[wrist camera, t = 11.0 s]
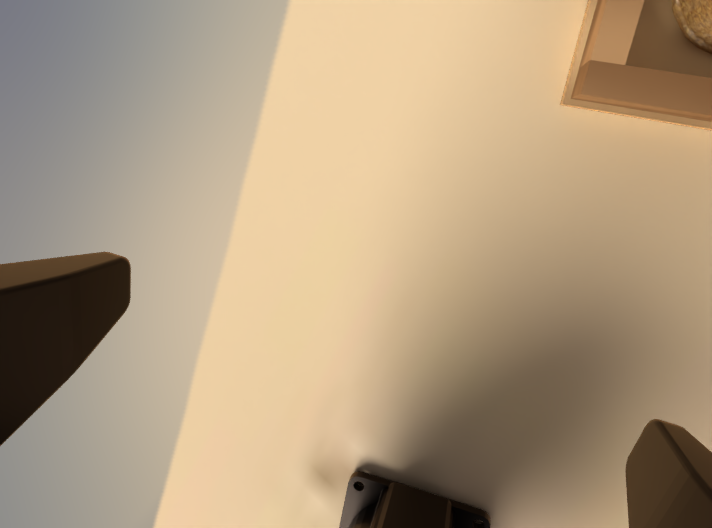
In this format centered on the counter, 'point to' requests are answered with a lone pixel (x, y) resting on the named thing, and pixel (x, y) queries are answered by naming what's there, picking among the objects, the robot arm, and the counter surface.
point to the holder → (639, 65)
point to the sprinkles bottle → (695, 21)
